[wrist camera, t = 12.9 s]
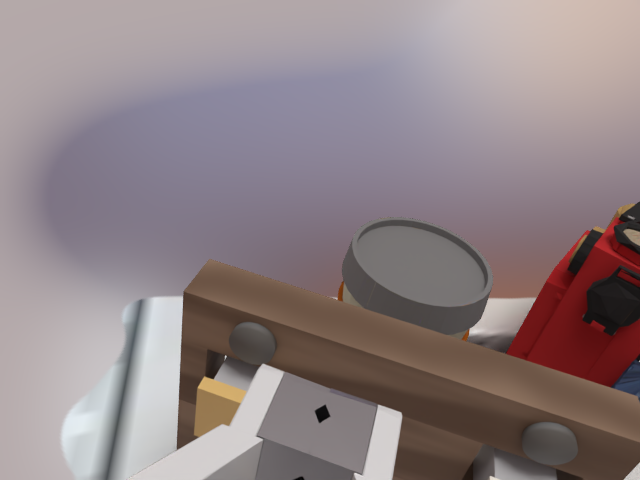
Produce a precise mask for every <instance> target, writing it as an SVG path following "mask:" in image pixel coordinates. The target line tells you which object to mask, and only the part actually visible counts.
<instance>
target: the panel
mask: <svg viewBox="0 0 640 480" xmlns="http://www.w3.org/2000/svg"><path fill="white" fill-rule="evenodd" d="M225 355H226V356H229V357H232V358H235V359H238V360H241V361H243V362H246V363H249V364H252V365H255V366H258V367H260V366H261V365H262V364H265V365H268V366H271V367H274V368H276V369H279V370H282V371H284V372H288V373H290V374H293V375H295V376H298V377H301V378H303V379H306V380H309V381H311V382H314V383H317V384H319V385H322V386H324V387H327V388H330V389H331V388H332V389H335V390H338V391H341V392H344V393H347V394H350V395H353V396H356V397H359V398H362V399H365V400H368V401H371V402H374V403H377V405H381V406H384V407H387V408H390V409H393V410H395V411H398V412H401V413H402V423H401V429H400V435H399V441H398V447H397V454H396V460H395V466H394V472H393V478H392V480H473V460H474V458H475V457H476V455H477V454H478V452H479V450H480V449H481V447H482V445H483V444H486V445H489V446H491V447H494V448H497V449H500V450H503V451H506V452H509V453H512V454H515V455H518V456H521V457H524V458H526V459H529V460H532V461H535V462H538V463H541V464H544V465H547V466H550V467H553V468H556V475H557V480H623V479H624V478H625V477H626V476H627V475H628V474H629V473H630V472H631V471H632V470H633V469H634V468H635V467H636V465H637V464H638V463H639V462H640V403H639V399H638V396H635V395H632V394H629V393H626V392H623V391H619V390H616V389H613V388H610V387H607V386H604V385H601V384H598V383H595V382H591V381H588V380H585V379H582V378H579V377H576V376H573V375H570V374H567V373H563V372H560V371H557V370H554V369H551V368H548V367H545V366H542V365H538V364H535V363H532V362H529V361H526V360H523V359H520V358H517V357H514V356H510V355H507V354H504V353H501V352H498V351H495V350H492V349H489V348H486V347H482V346H479V345H476V344H473V343H470V342H467V341H464V340H461V339H457V338H454V337H451V336H448V335H445V334H442V333H439V332H436V331H433V330H429V329H426V328H423V327H420V326H417V325H414V324H411V323H408V322H405V321H401V320H398V319H395V318H392V317H389V316H386V315H383V314H380V313H376V312H373V311H370V310H367V309H364V308H361V307H358V306H355V305H352V304H348V303H345V302H342V301H339V300H336V299H333V298H330V297H327V296H323V295H320V294H317V293H314V292H311V291H308V290H305V289H302V288H298V287H295V286H292V285H289V284H286V283H283V282H280V281H276V280H273V279H271V278H267V277H264V276H261V275H258V274H255V273H252V272H249V271H246V270H243V269H239V268H236V267H233V266H230V265H227V264H224V263H221V262H218V261H214V260H211V259H209V260H208V262H207V263H206V264H205V265H204V266H203V268H202V269H201V270H200V271H199V273H198V274H197V275H196V277H195V278H194V279H193V280H192V282H191V283H190V284H189V285H188V287H187V288H186V289H185V291H184V295H183V317H182V340H181V363H180V386H179V408H178V431H177V450H178V449H180V448H182V447H183V446H185V445H187V444H189V443H190V442H192V441H194V440H195V439H197V438H199V437H198V436H195V435H194V427H195V414H196V401H197V388H198V386H199V385H200V383H201V381H202V380H203V378H204V376H205V377H207V378H210V379H213V380H214V378H215V376H216V375H217V373H218V371H219V369H220V368H221V366H222V364H223V362H224V359H225Z"/></svg>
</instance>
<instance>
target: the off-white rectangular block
mask: <svg viewBox="0 0 640 480" xmlns="http://www.w3.org/2000/svg"><path fill="white" fill-rule="evenodd" d="M473 480H557V475H556V468H553V467H550V466H547V465H544V464H541V463H538V462H535V461H532V460H529V459H526V458H524V457H521V456H518V455H515V454H512V453H509V452H506V451H503V450H500V449H497V448H494V447H491V446H489V445H486V444H483V445H482V447H481V449H480V450H479V452H478V454H477V455H476V457H475V458H474V460H473Z"/></svg>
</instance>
